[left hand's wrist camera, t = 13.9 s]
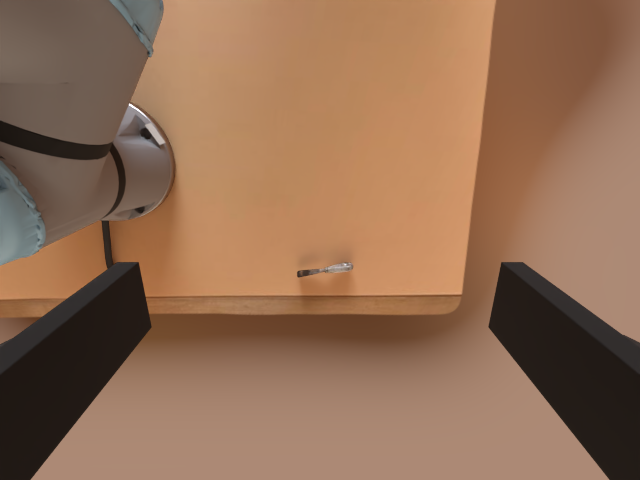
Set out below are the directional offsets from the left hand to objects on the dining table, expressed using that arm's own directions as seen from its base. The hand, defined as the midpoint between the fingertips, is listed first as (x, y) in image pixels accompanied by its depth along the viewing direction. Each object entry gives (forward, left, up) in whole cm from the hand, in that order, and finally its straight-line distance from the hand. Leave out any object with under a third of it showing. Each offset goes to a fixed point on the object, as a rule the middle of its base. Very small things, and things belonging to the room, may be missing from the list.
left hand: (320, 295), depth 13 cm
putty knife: (-14, -4, -34) cm, 37 cm away
